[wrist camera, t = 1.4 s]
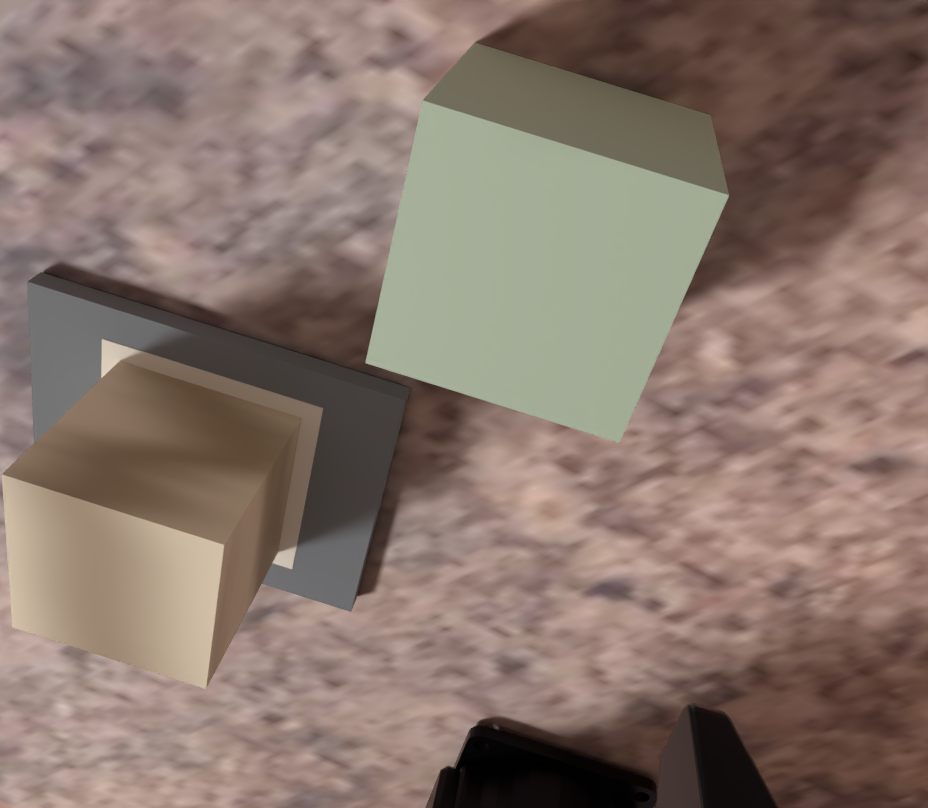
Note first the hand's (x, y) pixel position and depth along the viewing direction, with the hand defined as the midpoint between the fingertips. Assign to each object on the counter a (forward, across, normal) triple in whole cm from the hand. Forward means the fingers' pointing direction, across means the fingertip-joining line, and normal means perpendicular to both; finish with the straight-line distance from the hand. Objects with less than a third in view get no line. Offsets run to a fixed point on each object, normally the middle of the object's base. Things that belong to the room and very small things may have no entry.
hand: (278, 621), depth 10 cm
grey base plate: (+12, +6, +8) cm, 16 cm away
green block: (+12, -2, -1) cm, 13 cm away
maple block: (+12, +6, +8) cm, 16 cm away
